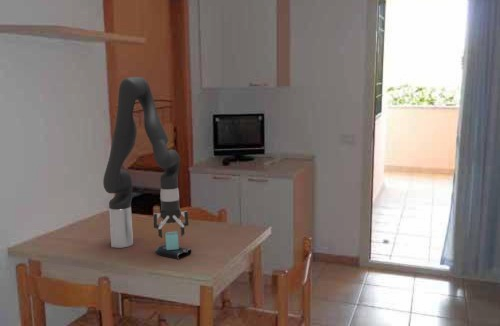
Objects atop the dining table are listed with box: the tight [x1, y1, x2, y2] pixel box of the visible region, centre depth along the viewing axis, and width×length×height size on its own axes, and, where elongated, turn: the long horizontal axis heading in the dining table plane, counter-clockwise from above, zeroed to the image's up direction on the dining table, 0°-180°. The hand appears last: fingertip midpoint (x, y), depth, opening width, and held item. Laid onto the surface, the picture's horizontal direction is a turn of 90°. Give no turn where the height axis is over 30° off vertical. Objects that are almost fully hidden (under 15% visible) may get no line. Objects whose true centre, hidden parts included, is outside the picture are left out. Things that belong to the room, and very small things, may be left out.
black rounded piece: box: [155, 244, 193, 260], centre depth 208 cm, size 9×6×15 cm
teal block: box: [164, 231, 180, 250], centre depth 207 cm, size 5×5×6 cm
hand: (171, 236), depth 207 cm, fingers open, 8 cm apart
